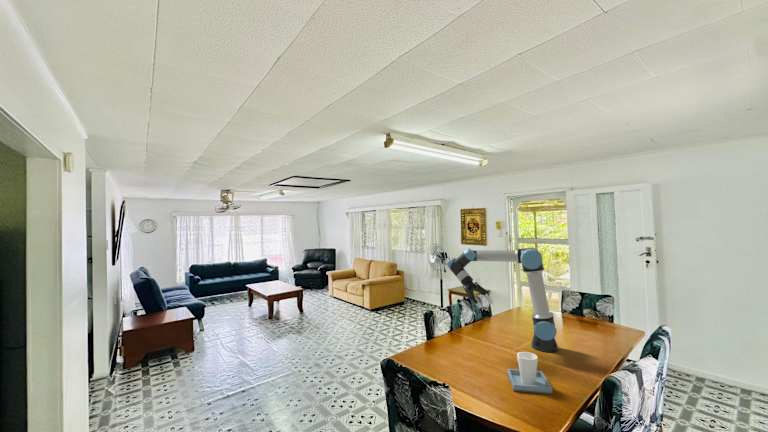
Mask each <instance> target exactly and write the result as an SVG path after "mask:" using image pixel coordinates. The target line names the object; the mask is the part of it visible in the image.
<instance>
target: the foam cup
mask: <svg viewBox="0 0 768 432" xmlns="http://www.w3.org/2000/svg"><path fill="white" fill-rule="evenodd" d="M516 359H517V363H518V364H517V365H518V369H519V370H520V376H521V382H522V383H524V384H526V385H534V384H535V381H536V371H538V370H537V369H538V363H539V359H538V355H536V354H535V353H532V352H528V351H519V352H517V353H516Z"/></svg>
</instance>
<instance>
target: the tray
mask: <svg viewBox="0 0 768 432" xmlns="http://www.w3.org/2000/svg"><path fill="white" fill-rule="evenodd" d="M506 371H507V373H506V375H507V377H508V379H509V383H510V385H511V387H512V390H513V392H520V393H521V392H522V393H532V394H543V395H545V394H546V395H553V394H554V393H553V386H552V385H551V384H550V382H549V380H548V378H547V376H545V373H543V371H542V370H537V371H536V381H535V384H534V385H526V384H524V383H522V382H521V376H520V370H519V368H518V369H516V368H506Z"/></svg>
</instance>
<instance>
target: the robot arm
mask: <svg viewBox="0 0 768 432" xmlns="http://www.w3.org/2000/svg"><path fill="white" fill-rule="evenodd" d="M471 262H502V263H503V262H507V263H508V262H509V263H515V262H516V263H517V264H521V265H522V272H523V273H524V274H526V278H527V283H528V288H529V295H530V298H531V299H530V300H531V304H532V305H531V306H532V309H533V314H532V315H531V317H532V324H533V336H532V340H531V348H533V349H534V350H536V351H538V352H539V351H540V352H544V353H545V352H546V353H553V352H554V353H555V352H557V351H558V350H559V345H558V343H557V340H556V336H557V327H556V324H555V319H554V317H555V316H554V313H553V312H551V311H550V307H549V302H548V297H547V293H546V292H547V291H546V288H545V283H544V278H543V277H544V276H543V271H545V268H544V263H543V256H542V254H541V252H540V251H539V250H538V249H536V248H534V247H526V248H517V249H515V250H513V249H510V250H509V249H508V250H502V249H500V250H497V249H496V250H494V249H491V250H486V249H485V250H484V249H483V250H482V249H481V250H480V249H479V250H473V249H471V248H467V249H465V250H464V251H463V252H462V253H461V254H460V255H459V256H458V257H457V258H455V257H452V258H451V259H449V260H448V261H447V263H446V265H447V267H448V269H449V270H450V271H451V272H452V274H453V275H454V276H455V277H456V278H457V280H458V281H459V282H460V283H461V285H462V288H463V289H464V291H465V294H466V296H467V297H468V298H467V299H468V300H470V301H472V302H473V303H474V304H475V305H476V306H477V308H478V309H481V308H483V304H482V303H481V302H480V301H479V299H478V298H477V297H475V296H476V295H475V293H474V291H475V292H477V293H479V294H481V295H482V296H483V298H484V300H486V301H487V302H488V304H489V305H492V304H493V303H494V301H493V299H492V298H491V296H489V295H488V291H487V290H486V288H484V287H483V286H481V285H480V284H479V283H478V282H477V281H475V282H473V281H474V279H473V278H472V277H471V275H470V274H469V273H468V272H467V270H466V269H465V267H466V266H467V265H469V264H470V263H471Z"/></svg>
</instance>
